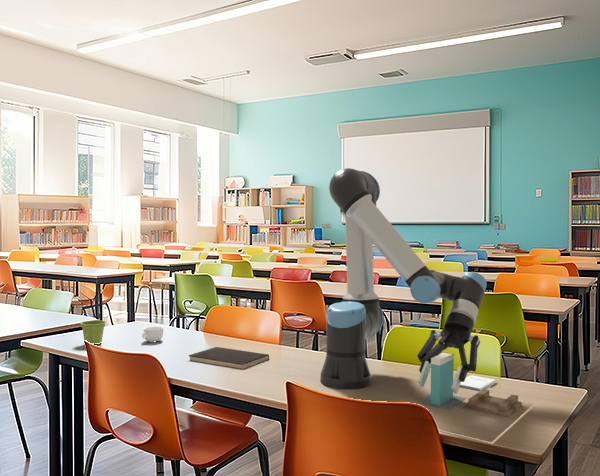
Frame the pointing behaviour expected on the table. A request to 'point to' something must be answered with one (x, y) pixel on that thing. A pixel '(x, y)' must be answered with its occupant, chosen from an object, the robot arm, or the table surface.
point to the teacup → (153, 333)
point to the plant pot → (93, 330)
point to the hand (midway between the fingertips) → (437, 387)
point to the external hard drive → (477, 382)
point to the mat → (445, 405)
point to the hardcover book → (229, 357)
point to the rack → (493, 403)
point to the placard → (442, 378)
